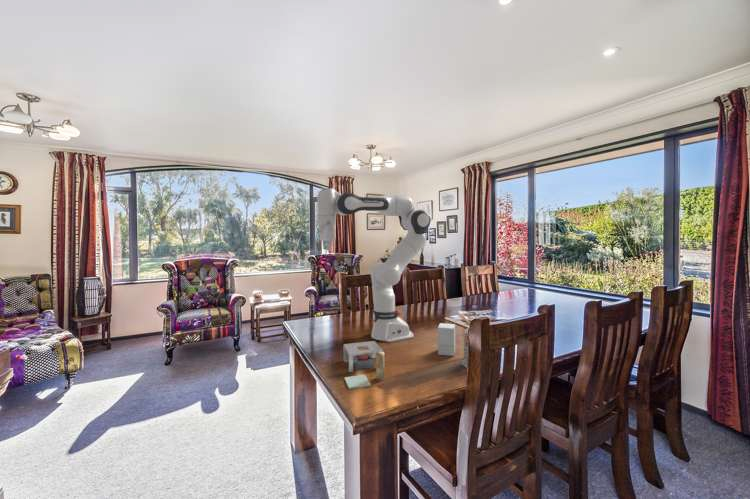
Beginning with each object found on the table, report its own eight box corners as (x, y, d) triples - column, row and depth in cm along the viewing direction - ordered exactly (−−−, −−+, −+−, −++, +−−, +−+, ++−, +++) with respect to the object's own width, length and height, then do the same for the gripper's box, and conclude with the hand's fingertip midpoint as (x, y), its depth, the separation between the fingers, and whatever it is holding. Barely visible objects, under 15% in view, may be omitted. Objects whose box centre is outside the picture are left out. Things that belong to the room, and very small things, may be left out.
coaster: (364, 376, 122) (364, 374, 122) (370, 385, 114) (370, 384, 114) (344, 378, 120) (344, 377, 120) (348, 388, 112) (348, 387, 112)
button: (367, 357, 135) (367, 350, 134) (369, 361, 130) (369, 354, 130) (356, 358, 133) (356, 351, 133) (359, 362, 129) (359, 355, 129)
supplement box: (455, 350, 148) (455, 324, 147) (454, 356, 141) (454, 328, 140) (439, 348, 150) (439, 322, 150) (437, 354, 143) (437, 327, 143)
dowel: (383, 376, 121) (383, 351, 121) (385, 380, 119) (385, 353, 118) (375, 377, 121) (375, 351, 120) (377, 381, 118) (377, 354, 117)
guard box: (374, 356, 141) (374, 340, 140) (383, 367, 129) (383, 350, 129) (343, 360, 137) (343, 344, 136) (349, 372, 125) (349, 354, 125)
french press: (472, 371, 126) (472, 308, 125) (453, 360, 137) (454, 303, 135) (491, 366, 130) (492, 306, 129) (471, 356, 141) (472, 300, 139)
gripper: (337, 221, 146) (338, 251, 147) (329, 222, 165) (329, 248, 166) (323, 221, 144) (324, 251, 145) (316, 222, 163) (317, 249, 164)
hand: (327, 250), depth 156 cm, fingers open, 8 cm apart
